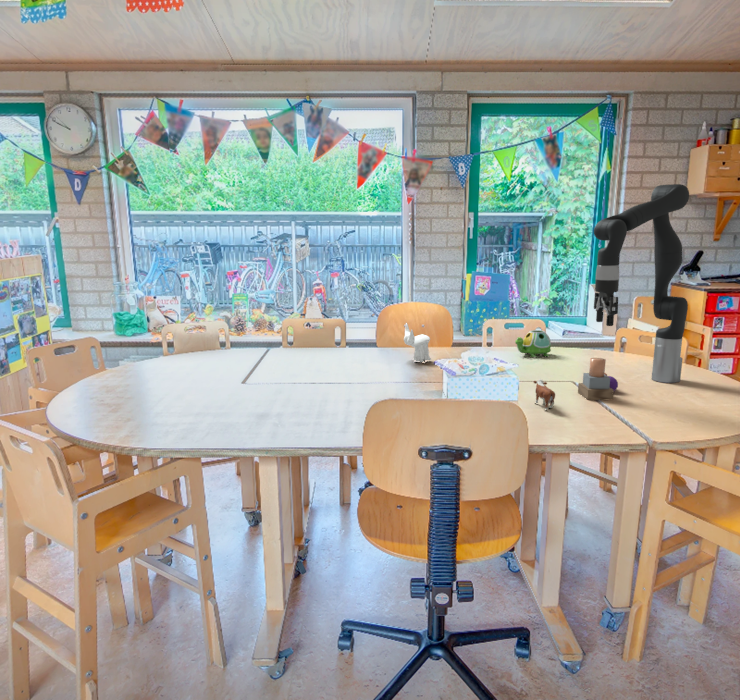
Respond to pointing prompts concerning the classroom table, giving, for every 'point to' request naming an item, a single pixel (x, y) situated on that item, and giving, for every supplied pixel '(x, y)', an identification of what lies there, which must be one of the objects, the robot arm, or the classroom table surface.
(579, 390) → the bottom block
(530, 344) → the turtle holder
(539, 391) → the bull figurine
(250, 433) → the classroom table surface
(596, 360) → the terracotta cylinder
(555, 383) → the classroom table surface
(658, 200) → the robot arm
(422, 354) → the toy animal
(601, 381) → the top block
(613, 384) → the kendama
